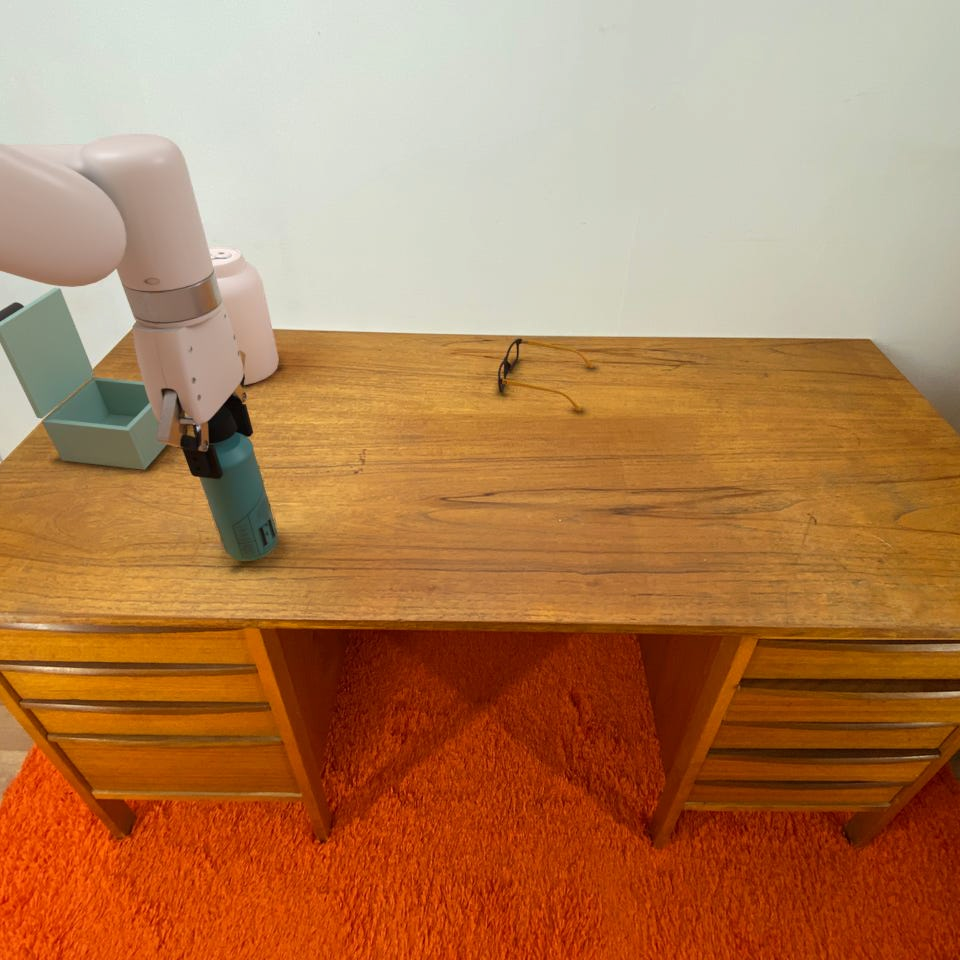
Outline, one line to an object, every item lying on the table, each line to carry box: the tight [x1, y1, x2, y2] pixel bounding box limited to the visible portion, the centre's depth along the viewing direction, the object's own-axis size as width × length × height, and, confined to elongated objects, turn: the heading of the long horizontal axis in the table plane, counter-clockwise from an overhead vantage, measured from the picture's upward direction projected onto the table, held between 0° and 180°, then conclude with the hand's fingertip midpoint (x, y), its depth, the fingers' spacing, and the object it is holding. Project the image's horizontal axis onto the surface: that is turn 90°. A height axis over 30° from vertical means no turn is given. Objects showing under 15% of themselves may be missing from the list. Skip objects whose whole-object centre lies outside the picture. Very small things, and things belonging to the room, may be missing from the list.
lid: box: [0, 287, 95, 419], centre depth 86 cm, size 13×12×6 cm
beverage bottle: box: [192, 407, 279, 562], centre depth 71 cm, size 6×7×20 cm
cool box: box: [41, 376, 168, 471], centre depth 92 cm, size 13×12×7 cm
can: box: [208, 245, 280, 386], centre depth 104 cm, size 12×12×20 cm
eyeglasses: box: [497, 337, 594, 412], centre depth 107 cm, size 14×14×4 cm
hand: (223, 453), depth 68 cm, fingers closed on beverage bottle, 6 cm apart
